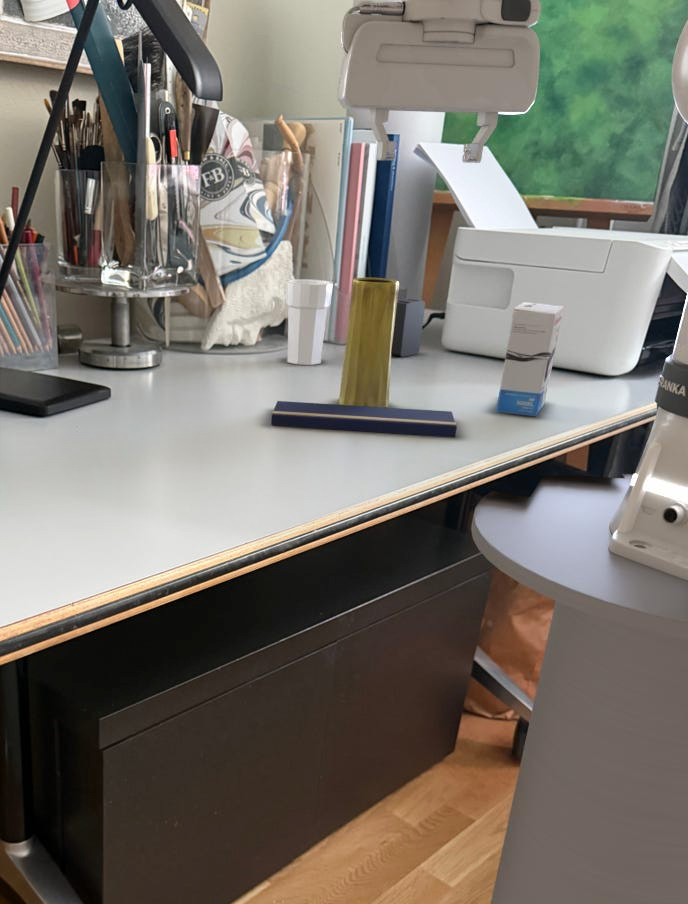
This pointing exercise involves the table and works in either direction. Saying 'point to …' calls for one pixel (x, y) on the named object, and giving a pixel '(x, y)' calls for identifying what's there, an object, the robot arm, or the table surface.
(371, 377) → the vase
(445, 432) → the navy blue flat box
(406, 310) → the ink cartridge
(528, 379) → the ink box
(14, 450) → the table surface
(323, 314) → the cup
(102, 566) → the table surface
